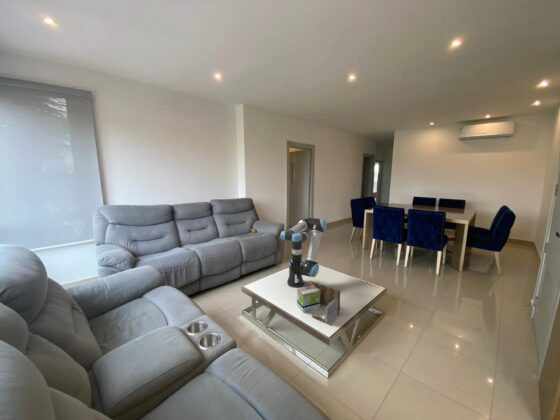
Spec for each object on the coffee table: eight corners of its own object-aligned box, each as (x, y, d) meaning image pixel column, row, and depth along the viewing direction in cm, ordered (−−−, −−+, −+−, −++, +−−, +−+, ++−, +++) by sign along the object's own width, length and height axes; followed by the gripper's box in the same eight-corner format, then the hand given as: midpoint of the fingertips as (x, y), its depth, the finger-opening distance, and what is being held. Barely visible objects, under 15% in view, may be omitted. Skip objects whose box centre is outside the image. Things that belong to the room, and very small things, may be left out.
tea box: (303, 313, 169) (303, 294, 166) (296, 305, 178) (296, 288, 175) (320, 308, 175) (320, 290, 172) (313, 301, 184) (313, 284, 181)
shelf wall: (296, 310, 172) (296, 290, 169) (309, 298, 187) (309, 280, 184) (327, 324, 156) (328, 303, 153) (339, 310, 171) (340, 290, 168)
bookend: (325, 323, 157) (325, 307, 155) (336, 310, 171) (337, 295, 169) (330, 325, 155) (330, 309, 153) (341, 312, 169) (342, 297, 167)
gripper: (287, 253, 177) (287, 281, 181) (301, 256, 169) (301, 286, 173) (292, 250, 183) (292, 278, 187) (306, 254, 175) (306, 282, 179)
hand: (296, 282), depth 180 cm, fingers closed
